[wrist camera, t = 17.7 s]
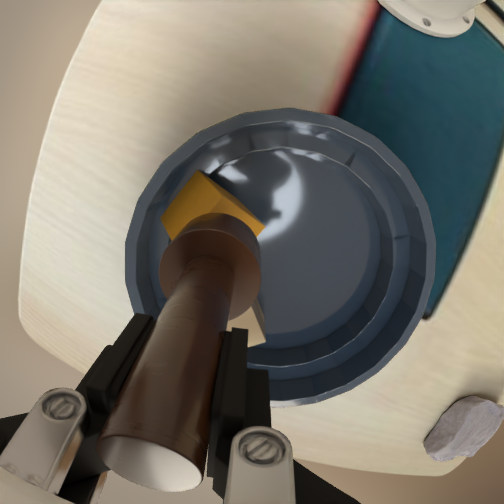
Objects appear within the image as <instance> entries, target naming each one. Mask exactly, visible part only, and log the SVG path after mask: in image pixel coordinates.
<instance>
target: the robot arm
mask: <svg viewBox="0 0 504 504" xmlns="http://www.w3.org/2000/svg"><path fill="white" fill-rule="evenodd" d="M484 1H486V0H378V2H379V3H380V4H381V5H382V6H383V7H385V8H386V9H387V10H388V11H389V12H390V13H391V14H393V15H394V16H395V17H397V18H398V19H399V20H401V21H402V22H404V23H406V24H407V25H409V26H411V27H412V28H414V29H416V30H419V31H421V32H423V33H425V34H429V35H432V36H436V37H444V38H448V37H455V36H458V35H460V34H462V33H464V32H465V31H467V30H468V29H469V28H470V27H471V26H472V24H473V21H474V18H475V6H477V5H479V4H481V3H482V2H484ZM155 322H156V320H154V318H153V316H152V315H147V314H141V313H136V314H135V315H134V316H133V318H132V319H131V320H130V322H129V323H128V325H127V326H126V327H125V329H124V330H123V332H122V333H121V334H120V336H119V337H118V339H117V340H116V341H115V343H114V344H113V346H112V345H107V346H106V347H105V348H104V350H103V351H102V352H101V354H100V355H99V357H98V358H97V359H96V361H95V362H94V364H93V365H92V366H91V368H90V369H89V371H88V372H87V373H86V375H85V376H84V378H83V379H82V381H81V382H80V384H79V385H78V387H77V388H76V389H75V390H73V389H69V388H55V389H52V390H49V391H47V392H46V393H44V394H43V395H42V396H41V397H40V398H39V400H38V401H37V402H36V404H35V405H34V407H33V408H32V409H31V411H30V412H29V413H24V414H20V415H15V416H10V417H6V418H1V419H0V504H97V503H98V500H99V498H100V494H101V492H102V489H103V486H104V483H105V481H106V478H107V472H108V471H109V470H111V469H110V468H109V467H108V466H106V465H105V463H104V462H103V461H102V460H101V459H100V457H99V455H98V454H97V451H96V442H97V440H98V438H99V435H100V433H101V431H102V429H103V427H104V425H105V422H106V420H107V418H108V416H109V414H110V412H111V410H112V408H113V405H114V403H115V401H116V399H117V397H118V395H119V393H120V391H121V389H122V387H123V385H124V383H125V381H126V379H127V377H128V375H129V373H130V371H131V369H132V367H133V365H134V363H135V361H136V359H137V357H138V355H139V353H140V351H141V349H142V347H143V345H144V343H145V341H146V339H147V337H148V335H149V333H150V332H151V330H152V328H153V326H154V324H155ZM248 330H249V329H243V328H235V327H232V331H225V333H224V339H223V344H222V350H221V356H220V361H219V367H218V373H217V379H216V384H215V390H214V396H213V402H212V409H211V417H210V421H211V431H210V437H209V446H208V462H207V477H213V490H214V491H215V492H216V493H217V494H218V495H219V496H220V497H221V498H222V499H223V504H361V503H359V502H358V501H357V500H356V499H354V498H352V497H351V496H349V495H347V494H345V493H344V492H342V491H341V490H339V489H337V488H336V487H334V486H333V485H331V484H329V483H328V482H326V481H325V480H323V479H322V478H320V477H319V476H317V475H316V474H314V473H312V472H311V471H309V470H308V469H306V468H305V467H304V466H302V465H301V464H299V463H298V462H296V461H295V460H294V459H293V453H292V446H291V443H290V441H289V440H288V438H287V437H286V436H285V435H284V434H282V433H281V432H280V431H278V430H275V429H273V428H271V409H270V389H269V372H268V370H263V369H253V368H247V352H248Z"/></svg>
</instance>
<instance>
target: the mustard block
mask: <svg viewBox="0 0 504 504" xmlns="http://www.w3.org/2000/svg"><path fill="white" fill-rule="evenodd" d="M207 213H225V214H229V215H232V216H234V217H236V218H238V219H240V220H242V221H243V222H244V223H245V224H247V225H248V226H249V227H250V228H251V230H252V231H253V232H254V234H255V236H256V238H257V237H258V235H259V234H260V233H261V232H262V231H263V229H264V228H265V225H264V224H263V223H262V222H261V221H260V220H258V219H257V218H256V217H255V216H254V215H253V214H252V213H251V212H250V211H249V210H248V209H247V208H246V207H245V206H244V205H243V204H242V203H241V202H240V201H239V200H238V199H237V198H236V197H234V196H233V195H232V194H230V193H229V192H228V191H226V190H225V189H224V188H222V187H221V186H219V185H218V184H217V183H215V182H214V181H213V180H211V179H210V178H208V177H207V176H206V175H204V174H203V173H202V172H200V171H199V170H197V171H196V172H195V174H194V175H193V176H192V177H191V179H190V180H189V181H188V182H187V184H186V185H185V186H184V187H183V189H182V190H181V191H180V193H179V194H178V195H177V196H176V198H175V199H174V200H173V202H172V203H171V204H170V206H169V207H168V208H167V210H166V211H165V212H164V214H163V215H162V216H161V218H160V219H161V221H162V223H163V225H164V227H165V229H166V231H167V233H168V234H169V236H170V238H171V240H173V239H174V238H175V237H176V236H177V234H178V233H179V232H180V231H181V230H182V229H183V227H184V226H185V225H186V224H187V223H188V222H190V221H191V220H192V219H194V218H196V217H198V216H200V215H203V214H207Z"/></svg>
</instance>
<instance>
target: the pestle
mask: <svg viewBox="0 0 504 504" xmlns="http://www.w3.org/2000/svg"><path fill="white" fill-rule="evenodd" d="M159 281H160V285H161V288H162V291H163V293H164V295H165V297H166V298H167V301H166V303H165V305H164V307H163V309H162V311H161V313H160V314H159V316H158V318H157V320H156V322H155V324H154V326H153V328H152V330H151V332H150V333H149V335H148V337H147V339H146V341H145V343H144V345H143V347H142V349H141V351H140V353H139V355H138V357H137V359H136V361H135V363H134V365H133V367H132V369H131V371H130V373H129V375H128V377H127V379H126V381H125V383H124V385H123V387H122V389H121V391H120V393H119V395H118V397H117V399H116V401H115V403H114V405H113V408H112V410H111V412H110V414H109V416H108V418H107V420H106V422H105V425H104V427H103V429H102V431H101V433H100V435H99V438H98V440H97V442H96V451H97V454H98V455H99V457H100V459H101V460H102V461H103V462H104V463H105V465H106V466H108V467H109V468H110V469H111V470H112V471H114V472H115V473H117V474H118V475H120V476H121V477H123V478H125V479H127V480H129V481H131V482H133V483H136V484H138V485H141V486H144V487H147V488H151V489H155V490H160V491H169V492H180V491H187V490H191V489H193V488H196V487H197V486H198V485H200V483H201V482H202V480H203V477H204V470H205V464H206V457H207V451H208V444H209V437H210V431H211V421H210V417H211V409H212V402H213V396H214V390H215V384H216V379H217V373H218V367H219V361H220V356H221V350H222V344H223V339H224V333H225V331H226V330H227V324H228V321H230V320H233V319H235V318H237V317H239V316H241V315H242V314H243V313H245V312H246V311H247V310H248V309H249V308H250V307H251V306H252V305H253V303H254V302H255V300H256V298H257V296H258V293H259V290H260V285H261V252H260V246H259V242H258V240H257V238H256V236H255V234H254V232H253V231H252V230H251V228H250V227H249V226H248V225H247V224H245V223H244V222H243V221H242V220H240V219H238V218H236V217H234V216H232V215H229V214H225V213H207V214H203V215H200V216H198V217H196V218H194V219H192V220H191V221H190V222H188V223H187V224H186V225H185V226H184V227H183V229H182V230H181V231H180V232H179V233H178V234H177V236H176V237H175V238H174V239H173V240H172V242H171V243H170V244H169V245H168V247H167V248H166V249H165V251H164V253H163V255H162V257H161V260H160V265H159Z"/></svg>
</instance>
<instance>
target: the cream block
mask: <svg viewBox="0 0 504 504" xmlns="http://www.w3.org/2000/svg"><path fill="white" fill-rule="evenodd" d="M232 327H235V328H243V329H249V330H248V347H251V346H254V345H258V344H261V343H264V342H266V334H265V319H264V314H263V312H262V309H261V307H260V304H259V302H258V299H257V298H256V300H255V302H254V303H253V305H252V306H251V307H250V308H249V309H248V310H247V311H246V312H245V313H243V314H242V315H241V316H239V317H237V318H235V319H233V320H230V321H228V324H227V330H226V331H232Z"/></svg>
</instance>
